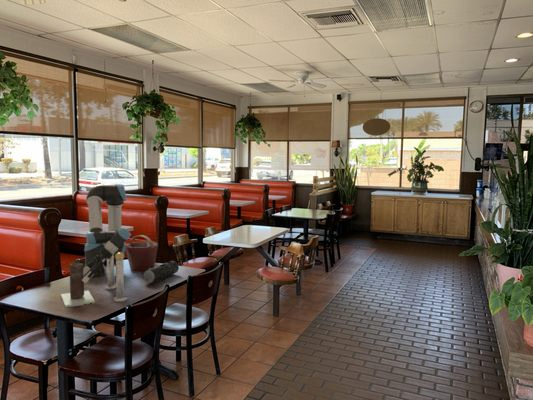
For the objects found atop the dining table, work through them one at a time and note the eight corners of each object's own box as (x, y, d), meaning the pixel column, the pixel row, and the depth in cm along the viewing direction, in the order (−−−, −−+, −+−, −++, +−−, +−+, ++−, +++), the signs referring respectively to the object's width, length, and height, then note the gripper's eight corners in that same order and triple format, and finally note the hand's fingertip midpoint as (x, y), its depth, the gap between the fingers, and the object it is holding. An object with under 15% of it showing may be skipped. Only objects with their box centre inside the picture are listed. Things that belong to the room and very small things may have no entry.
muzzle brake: (179, 275, 295) (179, 261, 294) (154, 286, 269) (154, 270, 268) (167, 273, 299) (167, 259, 298) (142, 284, 273) (142, 268, 272)
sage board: (65, 307, 229) (65, 305, 229) (60, 296, 247) (60, 294, 247) (94, 303, 237) (94, 300, 237) (88, 292, 255) (88, 290, 255)
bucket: (122, 267, 313) (122, 234, 310) (151, 263, 326) (150, 231, 324) (134, 275, 293) (134, 240, 291) (164, 270, 307) (164, 236, 304)
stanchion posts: (115, 302, 237) (114, 254, 235) (103, 287, 265) (102, 243, 262) (128, 300, 241) (127, 252, 238) (115, 285, 269) (114, 242, 266)
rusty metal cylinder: (73, 295, 246) (72, 261, 244) (86, 295, 246) (85, 261, 244) (68, 299, 238) (67, 265, 236) (81, 299, 239) (80, 264, 237)
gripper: (117, 258, 239) (90, 288, 233) (109, 250, 260) (84, 277, 254) (107, 250, 236) (79, 280, 230) (99, 242, 257) (74, 269, 251)
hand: (81, 278), depth 242 cm, fingers open, 13 cm apart
